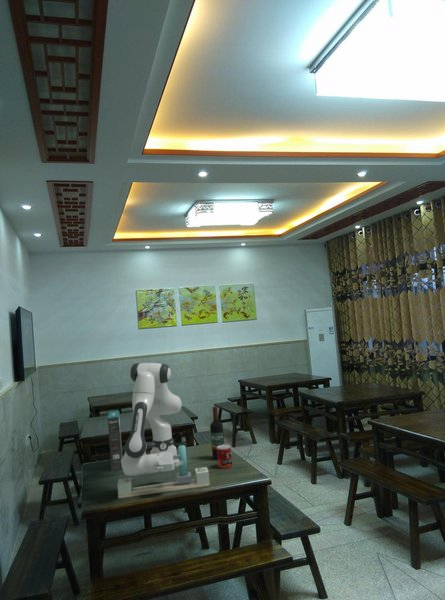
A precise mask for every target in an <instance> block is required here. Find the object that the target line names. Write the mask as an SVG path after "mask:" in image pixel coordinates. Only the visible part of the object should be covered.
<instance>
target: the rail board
mask: <svg viewBox="0 0 445 600" xmlns="http://www.w3.org/2000/svg"><path fill="white" fill-rule="evenodd" d="M194 470H195V471H194V472H195V473H194V474H195V478H192V482H190V483H183V484H178V482H177V480H176V481H171V482H163V483H156V484H150V485H149V484H148V485H142V486H134V487H133V484H132V476H129V477H123V478H118V481H117V484H116V485H117V497H118V499H123V498H130V497H136V496H144V495H151V494H157V493H158V494H160V493H165V492H172V491H178V490H185V489H186V490H187V489H193V488H199V487H200V488H201V487H207V486H211V484H210V482H211V481H210V473H209V469H208V467H207V466H204V467H198V468H195V469H194Z"/></svg>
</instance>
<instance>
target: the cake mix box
mask: <svg viewBox="0 0 445 600" xmlns="http://www.w3.org/2000/svg"><path fill="white" fill-rule="evenodd" d="M107 425H108V437H109V438H108V441H109V454H110V467H111V468H110V469H111V470H110V471H111V472H112V471H119V470H122V468H121V460H122V458H123V447H122V445H123V444H122V434H121V433H122V431H121V417H120V410H114V411H113V410H112V411H109V412H108V416H107Z"/></svg>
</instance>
